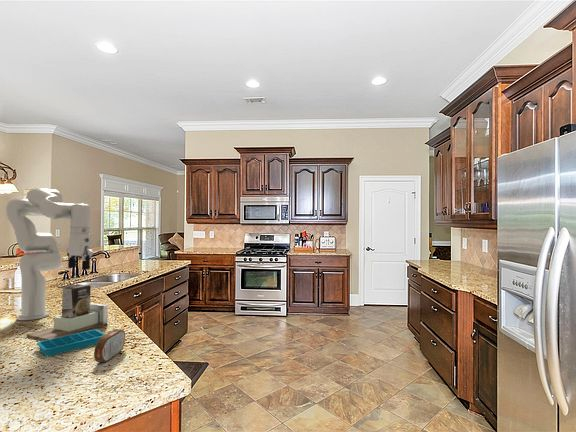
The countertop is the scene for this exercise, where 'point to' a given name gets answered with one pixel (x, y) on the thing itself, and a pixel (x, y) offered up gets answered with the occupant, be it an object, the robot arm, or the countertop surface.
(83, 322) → the pale green open box
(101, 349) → the tin
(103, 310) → the stop wall
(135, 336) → the countertop surface
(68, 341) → the ice cube tray
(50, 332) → the brown flat board
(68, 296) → the coffee box
